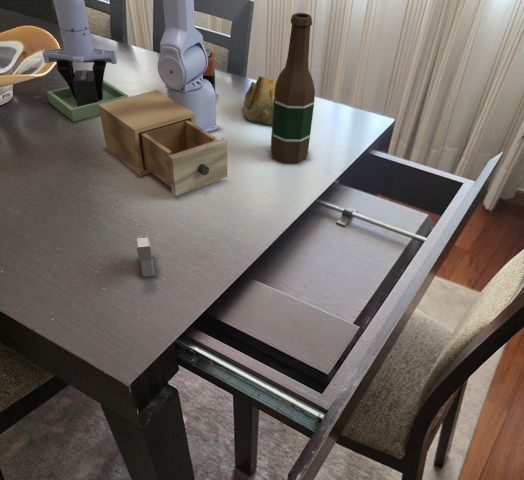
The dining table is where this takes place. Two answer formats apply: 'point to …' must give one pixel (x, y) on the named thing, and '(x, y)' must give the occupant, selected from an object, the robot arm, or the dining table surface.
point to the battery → (210, 69)
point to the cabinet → (137, 123)
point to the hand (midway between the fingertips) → (88, 98)
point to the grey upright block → (145, 255)
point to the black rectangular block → (85, 87)
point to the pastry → (260, 101)
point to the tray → (69, 107)
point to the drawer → (184, 155)
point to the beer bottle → (294, 97)
